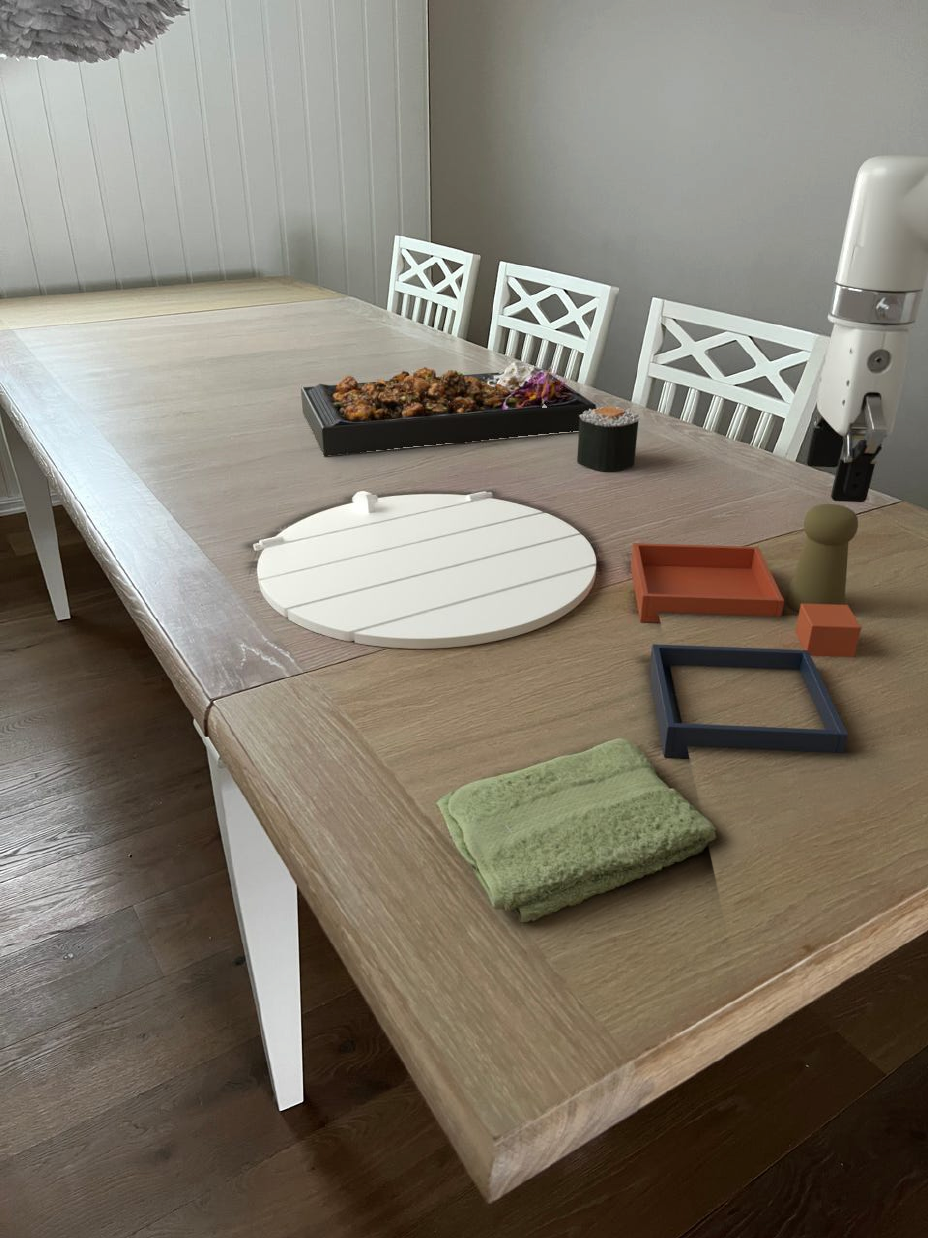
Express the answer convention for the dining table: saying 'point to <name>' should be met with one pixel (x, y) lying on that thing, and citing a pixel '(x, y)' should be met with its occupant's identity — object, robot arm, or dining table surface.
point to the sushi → (607, 438)
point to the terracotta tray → (702, 581)
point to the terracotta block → (828, 630)
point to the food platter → (440, 409)
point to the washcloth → (571, 828)
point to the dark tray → (742, 737)
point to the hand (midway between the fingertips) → (834, 482)
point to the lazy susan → (426, 570)
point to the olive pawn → (823, 557)
